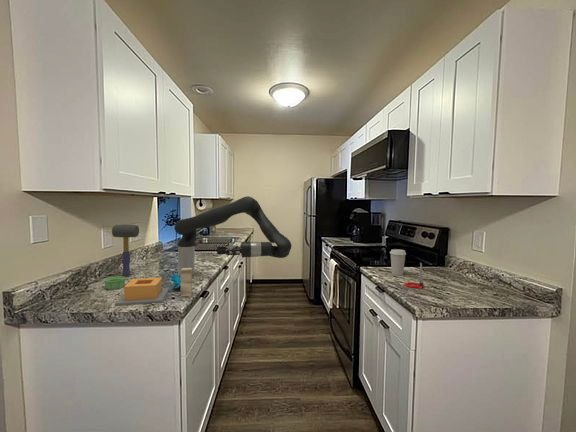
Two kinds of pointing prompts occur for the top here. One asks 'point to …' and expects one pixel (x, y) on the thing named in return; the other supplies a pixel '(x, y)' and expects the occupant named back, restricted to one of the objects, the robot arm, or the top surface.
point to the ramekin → (114, 282)
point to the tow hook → (416, 283)
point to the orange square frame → (143, 292)
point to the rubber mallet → (125, 243)
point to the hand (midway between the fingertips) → (217, 250)
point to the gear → (176, 281)
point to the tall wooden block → (186, 281)
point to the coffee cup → (397, 261)
